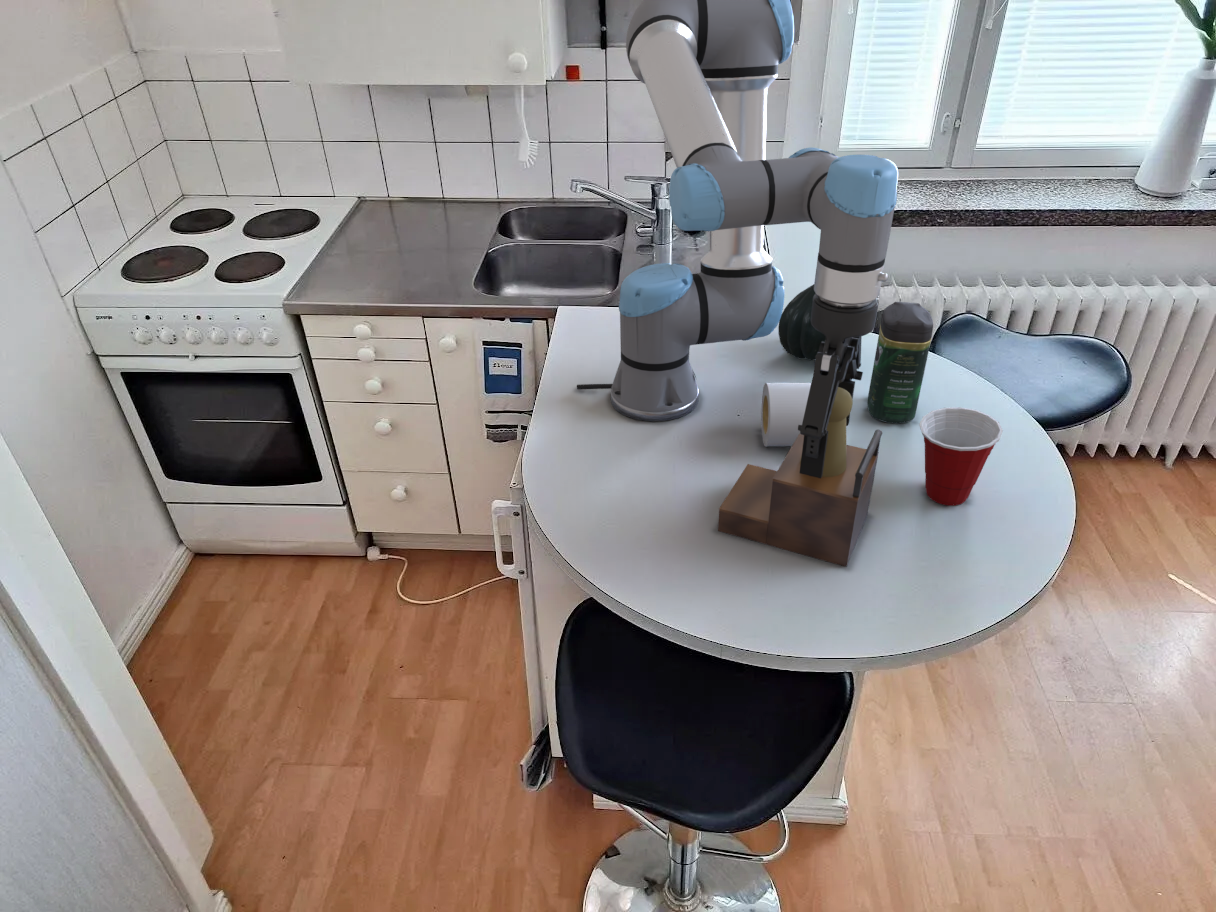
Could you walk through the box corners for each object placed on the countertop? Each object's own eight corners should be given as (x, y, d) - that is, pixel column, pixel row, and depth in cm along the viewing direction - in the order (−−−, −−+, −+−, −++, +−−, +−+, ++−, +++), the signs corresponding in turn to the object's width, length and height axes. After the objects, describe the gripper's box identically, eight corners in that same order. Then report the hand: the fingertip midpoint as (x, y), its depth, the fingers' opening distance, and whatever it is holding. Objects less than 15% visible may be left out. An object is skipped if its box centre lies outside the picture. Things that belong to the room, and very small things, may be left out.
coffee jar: (917, 427, 143) (939, 323, 132) (868, 423, 144) (885, 320, 134) (912, 398, 151) (932, 298, 140) (865, 395, 152) (881, 296, 142)
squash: (808, 358, 152) (855, 284, 151) (751, 331, 163) (795, 262, 162) (846, 389, 162) (890, 319, 161) (790, 362, 173) (831, 296, 171)
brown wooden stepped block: (717, 531, 121) (723, 442, 113) (745, 485, 130) (752, 400, 122) (847, 567, 114) (862, 475, 106) (867, 516, 123) (883, 428, 115)
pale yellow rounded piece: (816, 446, 119) (826, 375, 112) (855, 463, 115) (867, 390, 109) (790, 464, 115) (798, 391, 109) (829, 482, 111) (840, 408, 105)
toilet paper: (766, 458, 136) (772, 403, 131) (759, 425, 144) (764, 371, 139) (831, 458, 136) (839, 402, 130) (820, 425, 144) (827, 371, 139)
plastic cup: (895, 476, 131) (908, 407, 125) (964, 471, 132) (981, 402, 125) (922, 519, 122) (938, 448, 116) (997, 514, 123) (1017, 443, 116)
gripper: (852, 344, 91) (829, 506, 103) (900, 264, 110) (875, 409, 121) (783, 332, 94) (767, 491, 106) (840, 255, 113) (822, 398, 124)
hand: (825, 447), depth 114 cm, fingers open, 13 cm apart
